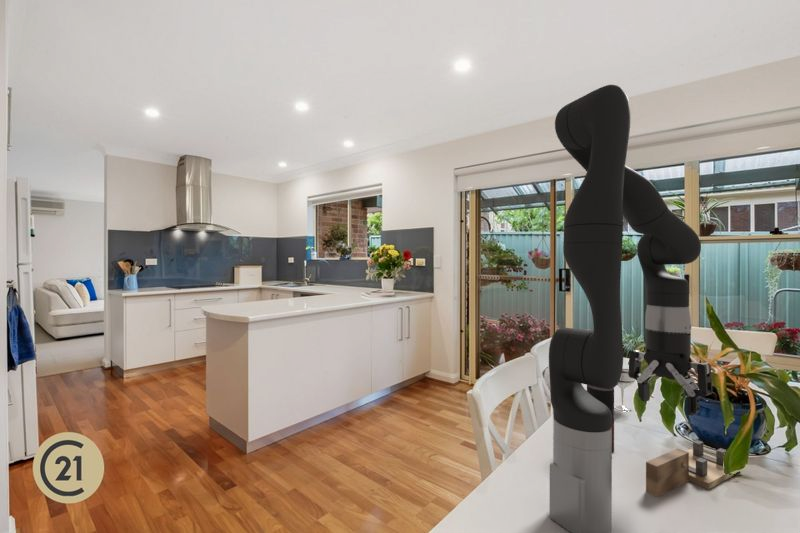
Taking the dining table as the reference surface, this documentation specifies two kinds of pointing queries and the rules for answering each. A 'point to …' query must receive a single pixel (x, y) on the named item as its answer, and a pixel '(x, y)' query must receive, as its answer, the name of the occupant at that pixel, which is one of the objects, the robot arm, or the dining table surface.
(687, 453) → the brown block
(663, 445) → the dining table surface
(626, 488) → the dining table surface
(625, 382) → the wineglass
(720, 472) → the wooden base with pegs
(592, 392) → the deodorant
